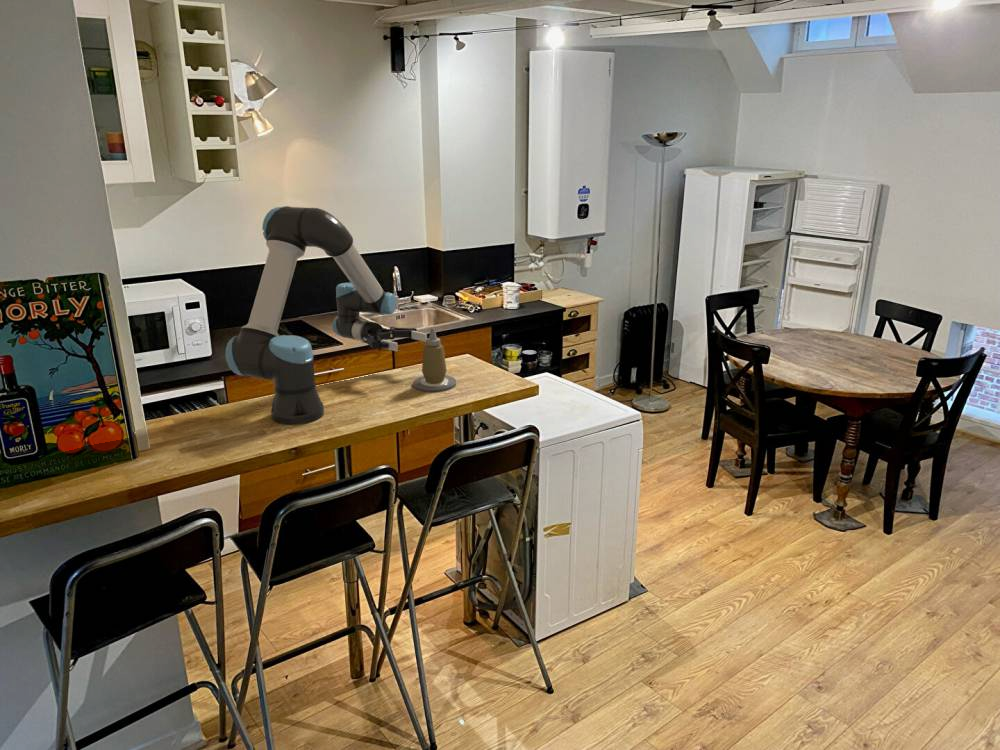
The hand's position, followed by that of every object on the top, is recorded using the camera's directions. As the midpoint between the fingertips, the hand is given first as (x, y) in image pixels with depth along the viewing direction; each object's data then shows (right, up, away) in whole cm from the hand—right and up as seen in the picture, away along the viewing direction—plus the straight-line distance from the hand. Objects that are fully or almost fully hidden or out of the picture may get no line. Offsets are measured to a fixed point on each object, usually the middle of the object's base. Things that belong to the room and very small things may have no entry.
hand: (411, 342), depth 250 cm
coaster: (+8, -14, -2) cm, 16 cm away
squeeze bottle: (+8, -13, -2) cm, 15 cm away
